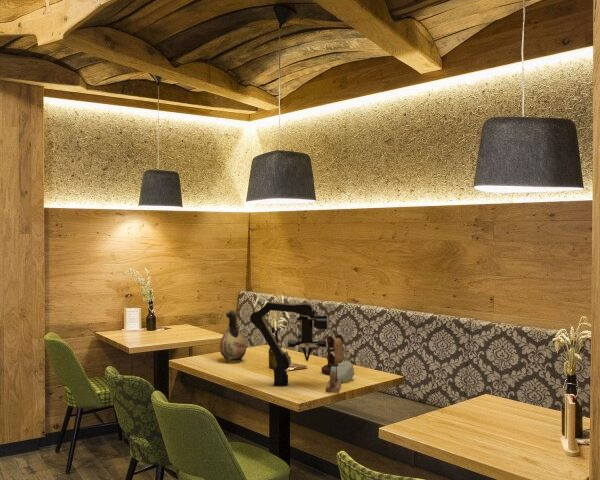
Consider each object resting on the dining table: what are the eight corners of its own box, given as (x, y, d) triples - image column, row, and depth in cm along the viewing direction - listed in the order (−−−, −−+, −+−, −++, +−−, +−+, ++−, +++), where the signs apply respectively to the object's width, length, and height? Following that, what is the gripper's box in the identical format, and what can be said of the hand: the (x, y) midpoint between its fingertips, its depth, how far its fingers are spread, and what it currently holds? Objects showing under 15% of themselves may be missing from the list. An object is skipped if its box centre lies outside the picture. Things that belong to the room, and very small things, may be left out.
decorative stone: (348, 376, 317) (337, 361, 316) (361, 372, 309) (350, 357, 308) (335, 393, 308) (323, 377, 307) (348, 389, 300) (336, 373, 299)
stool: (325, 392, 285) (325, 372, 285) (328, 385, 299) (328, 365, 299) (338, 393, 284) (338, 372, 284) (341, 385, 298) (341, 366, 298)
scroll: (335, 377, 316) (335, 338, 315) (315, 372, 327) (315, 335, 326) (354, 373, 325) (354, 335, 325) (335, 368, 336) (335, 332, 336)
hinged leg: (329, 382, 291) (330, 367, 290) (330, 380, 293) (331, 366, 293) (334, 382, 290) (335, 368, 290) (335, 381, 293) (336, 366, 292)
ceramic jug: (217, 359, 361) (217, 308, 360) (243, 357, 365) (243, 307, 365) (222, 365, 344) (222, 312, 344) (249, 363, 349) (249, 311, 349)
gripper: (325, 326, 307) (325, 357, 307) (287, 326, 306) (287, 357, 306) (326, 330, 296) (326, 362, 296) (287, 330, 295) (287, 362, 295)
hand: (307, 360), depth 299 cm, fingers closed
